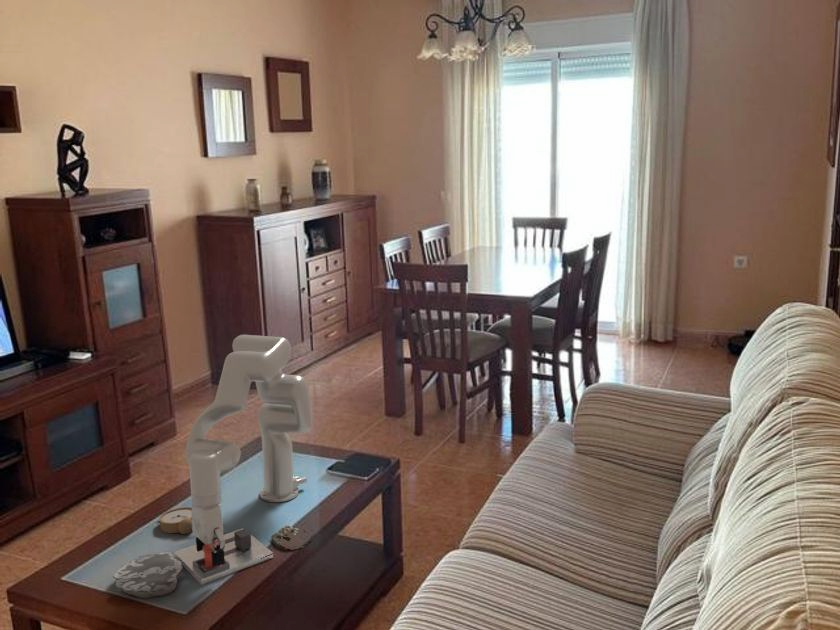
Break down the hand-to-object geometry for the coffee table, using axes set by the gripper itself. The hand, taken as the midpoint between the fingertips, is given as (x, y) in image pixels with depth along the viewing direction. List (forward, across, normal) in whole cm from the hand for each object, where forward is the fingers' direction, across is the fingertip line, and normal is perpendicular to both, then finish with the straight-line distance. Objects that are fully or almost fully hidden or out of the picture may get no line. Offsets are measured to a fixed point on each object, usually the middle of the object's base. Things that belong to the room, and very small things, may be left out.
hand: (210, 556), depth 200 cm
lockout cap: (+3, 0, 0) cm, 3 cm away
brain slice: (+5, -6, -14) cm, 17 cm away
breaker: (+3, -4, +11) cm, 13 cm away
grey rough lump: (+5, -1, +25) cm, 26 cm away
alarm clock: (+5, -30, +5) cm, 30 cm away
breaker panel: (+5, -5, +6) cm, 9 cm away
